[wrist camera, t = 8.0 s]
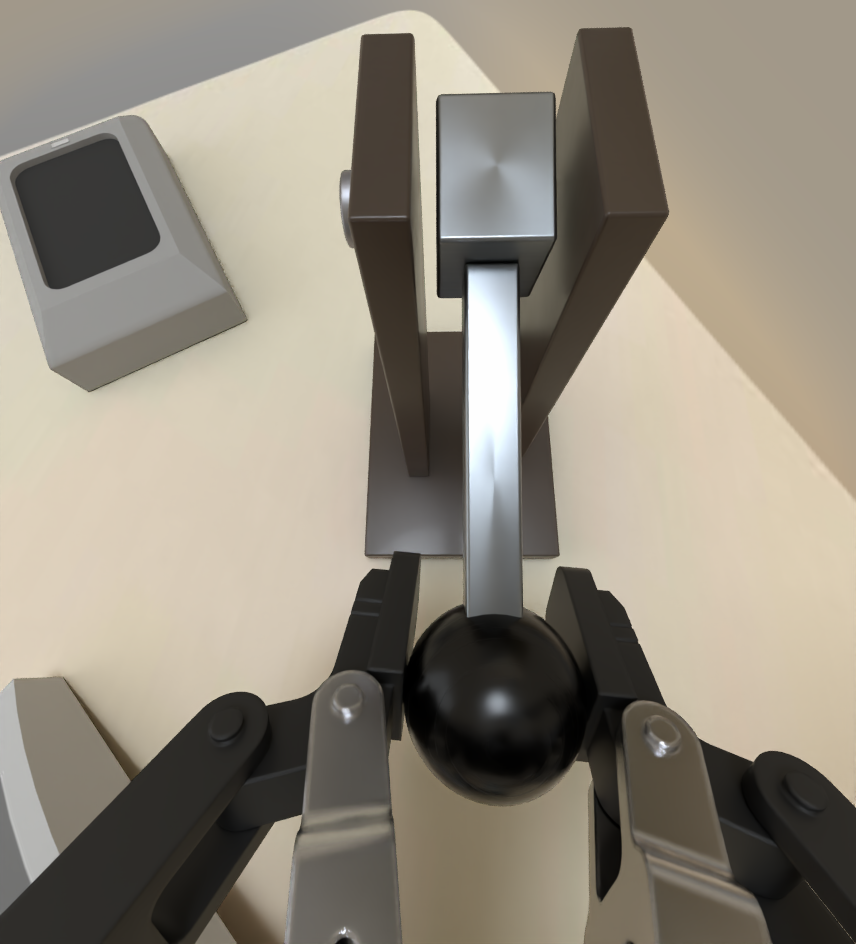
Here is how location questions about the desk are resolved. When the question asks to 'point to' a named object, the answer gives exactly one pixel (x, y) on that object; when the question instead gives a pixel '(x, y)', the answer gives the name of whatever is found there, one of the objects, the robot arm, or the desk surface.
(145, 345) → the grey flat block
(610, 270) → the latch bracket
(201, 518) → the desk surface
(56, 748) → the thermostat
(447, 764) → the latch lever
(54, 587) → the desk surface
